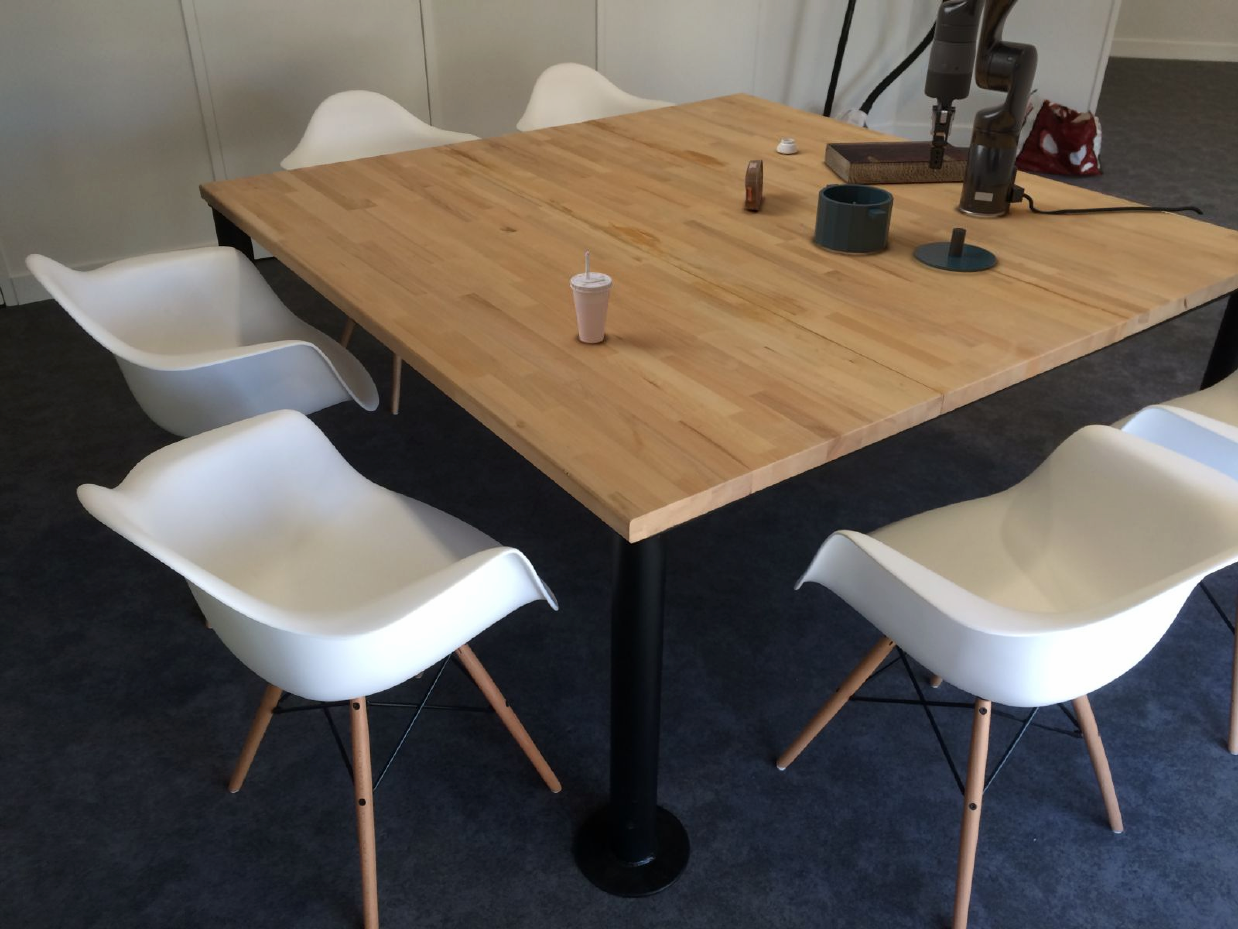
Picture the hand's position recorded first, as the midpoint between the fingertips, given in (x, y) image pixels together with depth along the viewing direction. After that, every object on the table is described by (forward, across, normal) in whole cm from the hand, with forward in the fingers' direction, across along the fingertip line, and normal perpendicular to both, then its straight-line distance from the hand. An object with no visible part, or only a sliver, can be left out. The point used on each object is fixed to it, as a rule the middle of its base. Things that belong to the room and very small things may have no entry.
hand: (935, 162), depth 190 cm
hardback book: (+18, +56, +7) cm, 59 cm away
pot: (+17, +3, +13) cm, 22 cm away
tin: (+18, +22, +35) cm, 45 cm away
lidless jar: (+18, +66, +34) cm, 76 cm away
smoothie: (+17, -53, +48) cm, 74 cm away
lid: (+17, -1, -6) cm, 18 cm away
